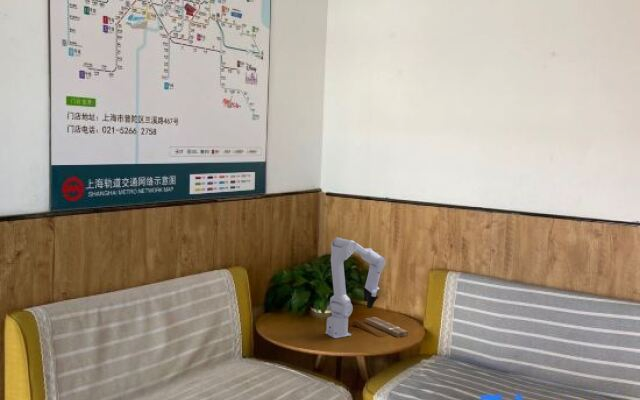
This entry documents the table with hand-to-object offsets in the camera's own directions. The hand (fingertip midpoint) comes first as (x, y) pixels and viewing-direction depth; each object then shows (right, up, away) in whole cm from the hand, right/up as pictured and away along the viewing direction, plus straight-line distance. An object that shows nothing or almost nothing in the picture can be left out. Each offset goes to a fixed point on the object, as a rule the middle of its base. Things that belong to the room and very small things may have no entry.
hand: (367, 304), depth 281 cm
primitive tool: (0, -11, -10) cm, 15 cm away
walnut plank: (+8, -10, -6) cm, 15 cm away
